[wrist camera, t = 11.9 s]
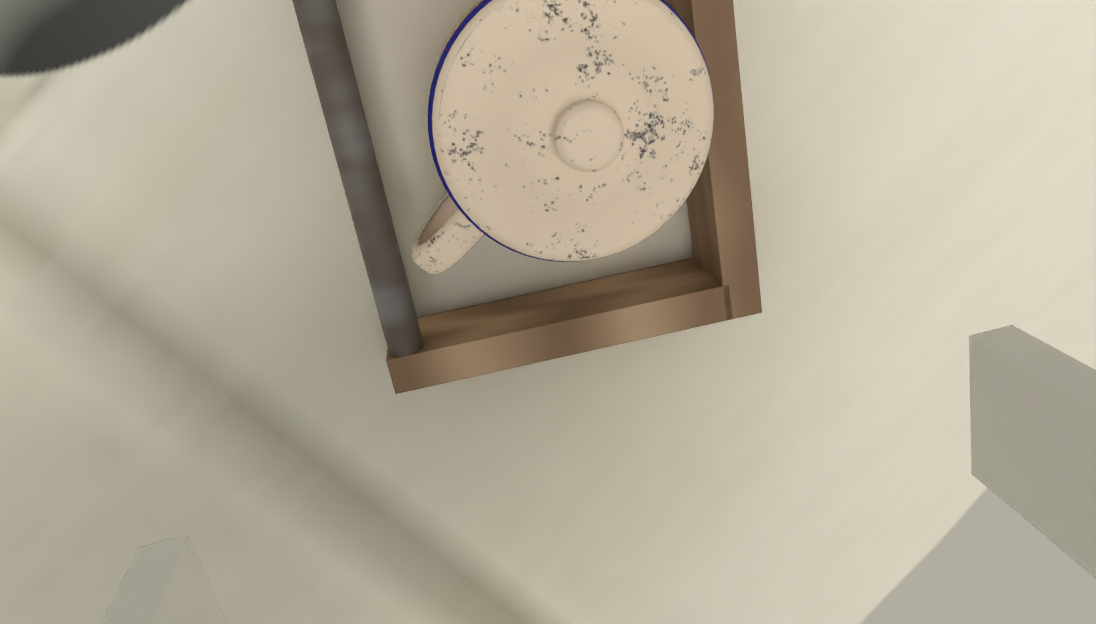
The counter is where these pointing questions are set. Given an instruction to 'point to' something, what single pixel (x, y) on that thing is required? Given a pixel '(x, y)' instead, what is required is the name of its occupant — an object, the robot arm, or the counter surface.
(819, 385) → the counter surface
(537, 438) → the counter surface
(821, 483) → the counter surface
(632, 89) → the teacup with lid
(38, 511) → the counter surface
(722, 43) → the wooden tray
